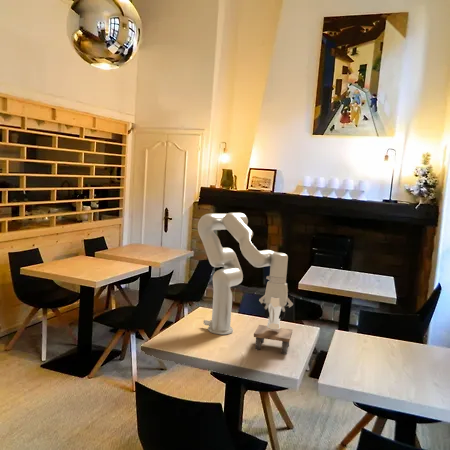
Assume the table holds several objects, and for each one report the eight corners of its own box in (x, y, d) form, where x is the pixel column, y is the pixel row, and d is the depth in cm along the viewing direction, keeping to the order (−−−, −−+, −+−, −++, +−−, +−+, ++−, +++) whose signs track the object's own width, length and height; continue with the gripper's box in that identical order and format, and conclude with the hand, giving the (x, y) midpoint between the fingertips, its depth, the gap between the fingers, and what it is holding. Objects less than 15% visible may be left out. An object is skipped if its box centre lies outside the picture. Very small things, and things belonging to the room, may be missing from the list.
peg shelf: (252, 349, 198) (253, 333, 198) (257, 339, 212) (259, 324, 211) (288, 355, 194) (289, 339, 194) (291, 344, 208) (292, 329, 207)
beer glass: (274, 331, 197) (276, 298, 196) (262, 326, 203) (265, 295, 201) (284, 328, 202) (286, 296, 201) (273, 324, 207) (275, 293, 206)
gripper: (257, 279, 199) (254, 317, 200) (296, 283, 195) (292, 323, 196) (260, 276, 206) (257, 313, 208) (297, 280, 202) (293, 318, 204)
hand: (274, 317), depth 202 cm, fingers closed on beer glass, 6 cm apart
